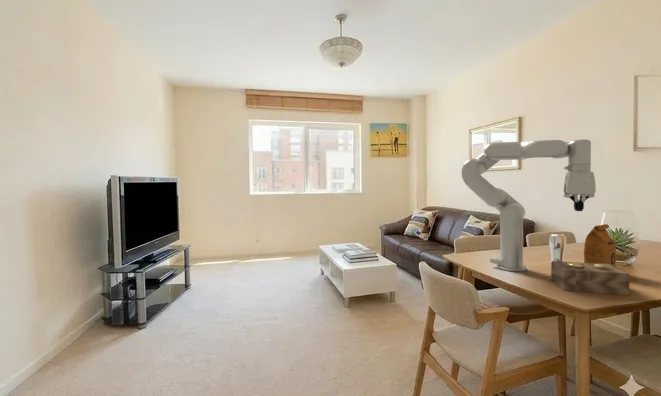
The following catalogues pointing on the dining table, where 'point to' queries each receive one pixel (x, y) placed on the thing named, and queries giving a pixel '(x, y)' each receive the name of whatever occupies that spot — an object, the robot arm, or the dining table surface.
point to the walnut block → (590, 278)
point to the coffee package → (600, 247)
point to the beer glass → (557, 247)
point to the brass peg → (575, 265)
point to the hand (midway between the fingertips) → (578, 210)
